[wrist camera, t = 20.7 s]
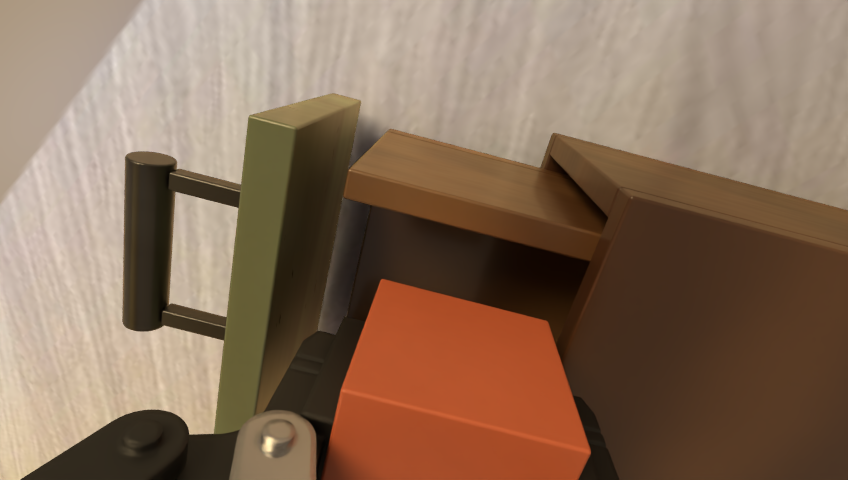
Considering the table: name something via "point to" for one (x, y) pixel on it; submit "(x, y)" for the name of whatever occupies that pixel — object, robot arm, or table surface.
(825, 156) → the table surface
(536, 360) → the block
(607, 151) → the cabinet
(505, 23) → the table surface
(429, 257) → the drawer
